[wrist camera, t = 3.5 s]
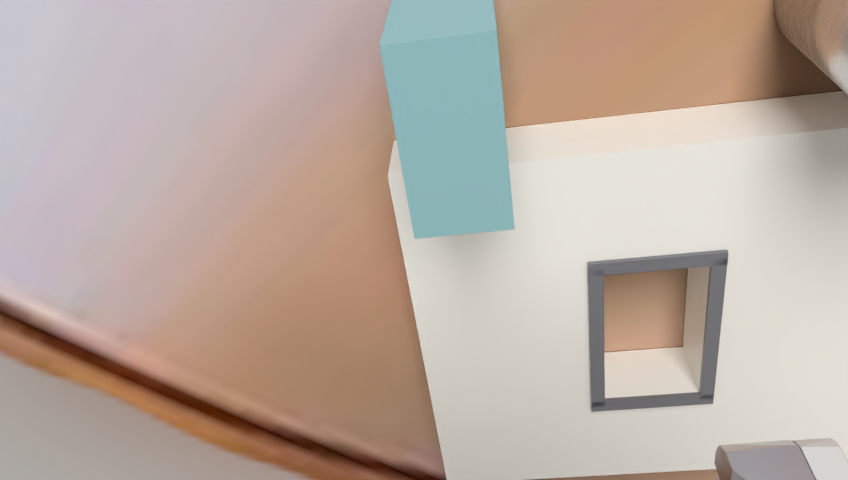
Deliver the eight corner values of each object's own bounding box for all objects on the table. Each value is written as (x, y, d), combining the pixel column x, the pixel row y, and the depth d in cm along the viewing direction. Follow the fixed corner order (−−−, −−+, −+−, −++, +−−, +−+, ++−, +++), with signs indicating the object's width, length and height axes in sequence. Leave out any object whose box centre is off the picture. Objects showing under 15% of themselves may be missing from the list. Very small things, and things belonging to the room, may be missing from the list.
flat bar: (487, -53, 26) (496, 30, 19) (501, 105, 29) (514, 229, 22) (403, -41, 26) (379, 45, 19) (426, 113, 30) (414, 238, 22)
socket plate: (914, 83, 28) (960, 118, 25) (836, 413, 38) (864, 464, 35) (393, 140, 30) (387, 179, 28) (448, 437, 40) (447, 487, 38)
